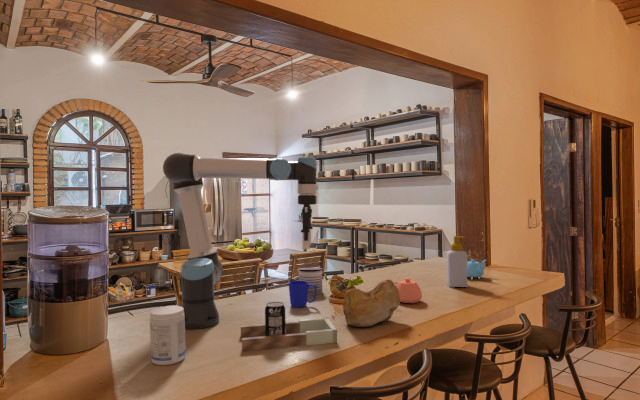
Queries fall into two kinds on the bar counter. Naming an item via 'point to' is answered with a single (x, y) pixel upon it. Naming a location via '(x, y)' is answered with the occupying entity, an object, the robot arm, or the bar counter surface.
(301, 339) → the trough
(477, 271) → the teapot
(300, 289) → the mug
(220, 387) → the bar counter surface
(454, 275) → the soap bottle
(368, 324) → the rough brown rock
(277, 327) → the beverage can
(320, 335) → the pale grey box
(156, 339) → the supplement tub
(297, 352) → the bar counter surface
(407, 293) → the sugar bowl
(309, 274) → the can
